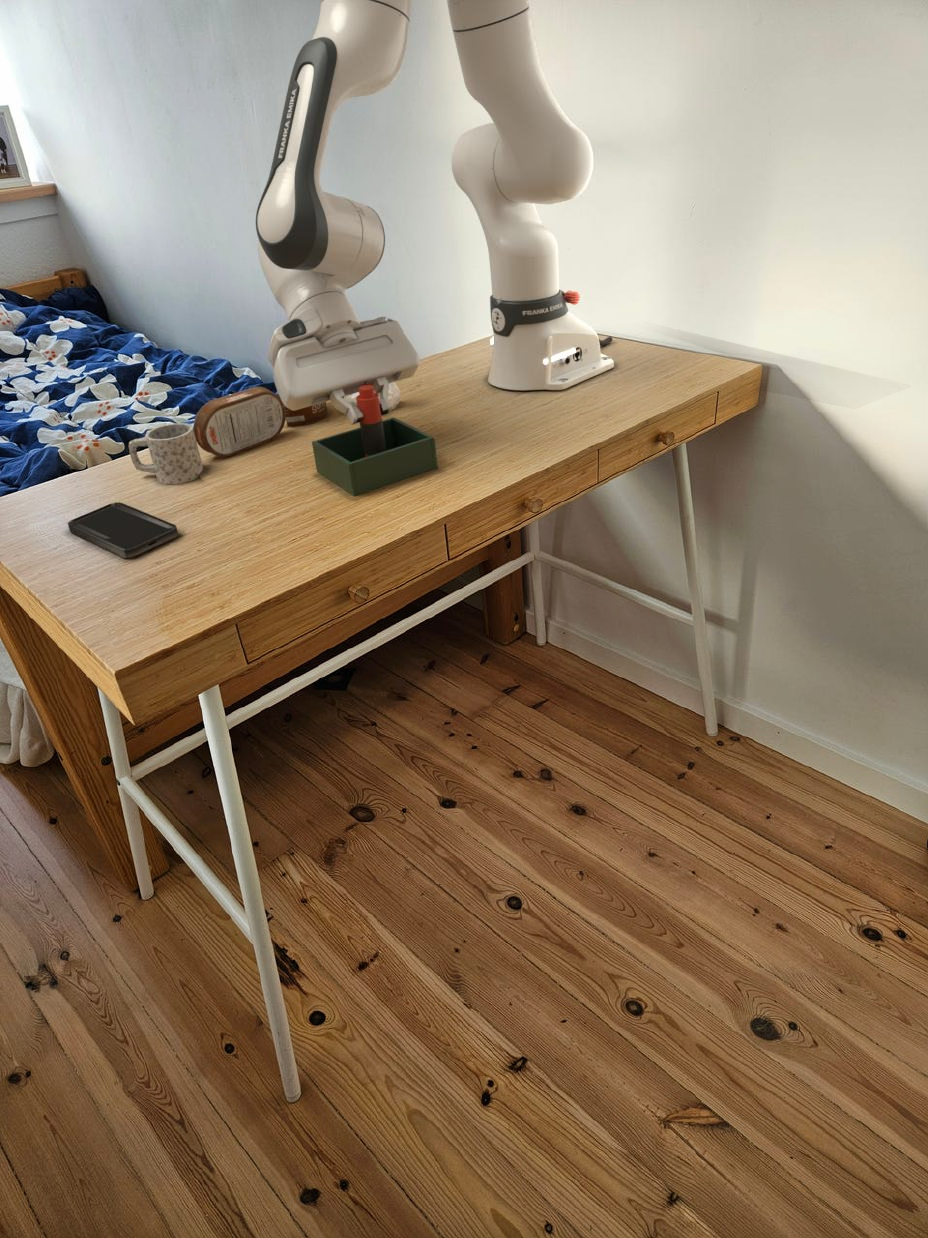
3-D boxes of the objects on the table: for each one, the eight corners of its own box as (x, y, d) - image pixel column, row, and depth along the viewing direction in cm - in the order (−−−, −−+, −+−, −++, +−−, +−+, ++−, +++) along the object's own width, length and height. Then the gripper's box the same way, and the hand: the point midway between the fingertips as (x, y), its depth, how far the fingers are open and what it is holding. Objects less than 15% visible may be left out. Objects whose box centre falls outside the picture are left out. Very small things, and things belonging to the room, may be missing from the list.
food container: (320, 429, 142) (309, 367, 137) (284, 429, 143) (271, 368, 138) (344, 403, 152) (335, 344, 147) (310, 403, 153) (300, 344, 148)
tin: (282, 430, 143) (271, 378, 139) (293, 434, 141) (283, 382, 137) (199, 461, 135) (185, 407, 130) (210, 466, 133) (196, 411, 128)
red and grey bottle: (380, 454, 126) (370, 381, 121) (391, 461, 124) (381, 387, 118) (361, 461, 125) (350, 387, 119) (372, 467, 123) (361, 392, 117)
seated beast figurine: (342, 408, 150) (330, 336, 143) (388, 396, 153) (379, 325, 147) (365, 423, 143) (354, 348, 136) (413, 410, 146) (404, 336, 139)
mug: (209, 464, 133) (198, 421, 130) (195, 483, 128) (183, 438, 124) (145, 468, 134) (133, 425, 131) (128, 486, 129) (115, 442, 125)
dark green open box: (397, 449, 132) (393, 416, 129) (438, 471, 124) (434, 437, 121) (317, 475, 126) (311, 441, 124) (354, 499, 118) (348, 464, 116)
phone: (117, 500, 121) (179, 526, 113) (119, 508, 122) (182, 534, 113) (63, 523, 117) (124, 552, 108) (66, 531, 117) (127, 560, 108)
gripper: (387, 327, 129) (430, 408, 128) (256, 361, 121) (300, 448, 119) (399, 300, 124) (444, 384, 122) (262, 333, 115) (308, 425, 113)
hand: (372, 416), depth 120 cm, fingers closed on red and grey bottle, 3 cm apart
